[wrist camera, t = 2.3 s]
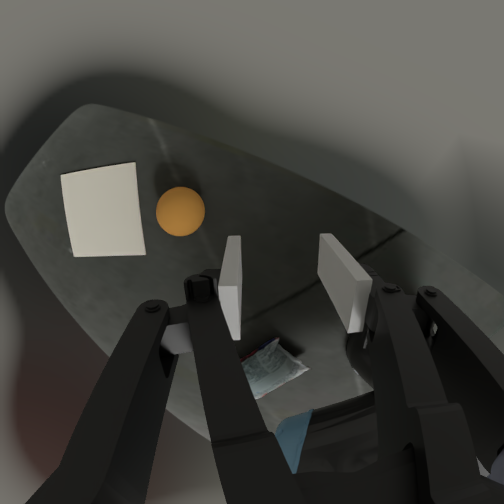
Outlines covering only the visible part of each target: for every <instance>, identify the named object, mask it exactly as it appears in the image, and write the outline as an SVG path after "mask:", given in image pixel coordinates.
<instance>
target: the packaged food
mask: <svg viewBox="0 0 504 504" xmlns="http://www.w3.org/2000/svg"><path fill="white" fill-rule="evenodd" d="M278 342H279V337H278V338H273V339H271V340H269V341H267V342H266V343H264V344H263V345H261V346H260V347H259V348H257V349H256V350H254V351H253V352H252V353H251V354H249V355H247V356H245V357H243V358H241V359H240V361H241V364H242V366H243V369H244V372H245V374H246V377H247V380H248V382H249V385H250V388H251V390H252V393H253V395H254V398H255V399H258V398H259V397H260V398H261V397H263V396H264V395H265V394H266V393H268V392H270V391H272V390H274V389H276V388H278V387H280V386H281V385H283V384H284V383H285V382H287V381H289V380H291V379H293V378H295V377H297V376H299V375H300V374H302V373H303V372H305V371H306V370H308V369H311V368H310V367H309V366H305V365H303V364H302V362H301V360H300V359H298V358H295V357H294V356H292V354H290V353H289V352H287V351H286V350H284V349H283V348H282V347H281V345H279V344H278Z"/></svg>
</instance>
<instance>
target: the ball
mask: <svg viewBox="0 0 504 504" xmlns="http://www.w3.org/2000/svg"><path fill="white" fill-rule="evenodd" d="M204 215H205V207H204V203H203V201H202V199H201V197H200V196H199V195H198V194H197V193H196V192H195V191H194V190H192V189H190V188H186V187H175V188H172V189H170V190H168V191H167V192H165V193H164V194H163V195H162V196H161V198H160V199H159V201H158V204H157V208H156V216H157V220H158V222H159V224H160V226H161V227H162V228H163V229H164V230H165V231H166V232H167V233H169V234H171V235H175V236H185V235H189V234H191V233H193V232H194V231H196V230H197V229H198V228H199V226H200V225H201V224H202V222H203V219H204Z"/></svg>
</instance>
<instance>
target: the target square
mask: <svg viewBox="0 0 504 504" xmlns="http://www.w3.org/2000/svg"><path fill="white" fill-rule="evenodd" d="M61 183H62V192H63V199H64V206H65V213H66V219H67V224H68V230H69V235H70V240H71V245H72V250H73V254H74V257H87V256H122V255H146V250H145V244H144V237H143V230H142V222H141V214H140V205H139V196H138V186H137V174H136V162H133V163H126V164H119V165H112V166H106V167H100V168H94V169H89V170H83V171H78V172H73V173H68V174H63V175H61Z"/></svg>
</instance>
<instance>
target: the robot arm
mask: <svg viewBox="0 0 504 504" xmlns="http://www.w3.org/2000/svg"><path fill="white" fill-rule="evenodd" d="M317 274H318V276H319V277H320V279H321V281H322V283H323V285H324V287H325V289H326V291H327V293H328V295H329V297H330V299H331V301H332V303H333V305H334V307H335V309H336V311H337V313H338V315H339V317H340V319H341V321H342V323H343V325H344V327H345V329H346V331H347V333H351V335H350V337H349V340H348V343H347V357H348V360H349V362H350V364H351V367H352V368H353V370H354V371H355V372H356V373H357V374H358V375H359V376H361V377H362V378H363V379H364V380H365V381H366V382H367V383H368V384H369V385H370V386H371V387H372V388H373V389H374V391H371V392H368V393H365V394H363V395H360V396H357V397H354V398H351V399H348V400H345V401H342V402H339V403H336V404H332V405H329V406H326V407H322V408H319V409H315V410H314V409H311V410H309V411H308V412H305V413H302V414H299V415H295V416H292V417H288V418H286V419H284V420H283V421H282V422H281V423H280V424H279V425H278V427H277V430H276V433H275V435H274V434H273V432H269V431H268V430H267V428H266V425H265V423H264V420H263V418H262V416H261V413H260V411H259V408H258V406H257V403H256V400H255V398H254V395H253V393H252V390H251V388H250V385H249V382H248V380H247V377H246V374H245V372H244V369H243V366H242V364H241V361H240V358H239V356H238V353H237V350H236V347H235V345H234V342H233V340H240V334H241V299H242V259H241V235H240V236H228V239H227V244H226V249H225V254H224V259H223V264H222V269H208V270H205V271H203V272H202V273H201V274H196V275H192V276H190V277H188V278H186V279H185V281H184V288H185V295H186V301H187V304H185V305H182V306H178V307H174V308H169V306H168V304H167V302H165V301H163V300H148V301H146V302H144V303H142V304H141V305H140V306H139V307H138V308H137V310H136V312H135V313H134V315H133V317H132V319H131V320H130V322H129V324H128V326H127V327H126V329H125V331H124V333H123V335H122V336H121V338H120V340H119V342H118V344H117V345H116V347H115V349H114V351H113V353H112V355H111V356H110V358H109V361H108V362H107V364H106V366H105V368H104V370H103V372H102V374H101V376H100V378H99V380H98V381H97V383H96V385H95V387H94V390H93V391H92V394H91V396H90V398H89V400H88V402H87V404H86V406H85V408H84V410H83V413H82V414H81V417H80V419H79V421H78V423H77V425H76V427H75V430H74V432H73V434H72V437H71V439H70V441H69V444H68V446H67V448H66V451H65V453H64V455H63V458H62V460H61V463H60V465H59V467H58V468H57V469H56V470H55V471H54V473H52V474H51V476H50V477H49V478H48V479H47V480H46V481H45V482H44V483H43V484H42V486H41V487H40V488H39V489H38V490H37V491H36V492H35V493H34V495H32V496H31V498H30V499H29V500H28V501H27V502H26V503H25V504H144V503H145V500H146V495H147V489H148V484H149V479H150V474H151V470H152V464H153V460H154V455H155V450H156V446H157V442H158V437H159V433H160V429H161V424H162V420H163V416H164V412H165V408H166V404H167V400H168V396H169V392H170V388H171V384H172V380H173V376H174V372H175V368H176V365H177V361H178V357H179V355H178V354H180V353H185V352H190V351H194V357H195V363H196V368H197V374H198V380H199V385H200V390H201V396H202V401H203V406H204V411H205V415H206V420H207V425H208V429H209V434H210V438H211V443H212V449H213V453H214V458H215V462H216V466H217V469H218V473H219V477H220V481H221V485H222V488H223V492H224V495H225V499H226V502H227V504H504V355H503V354H502V352H501V351H500V350H499V349H498V348H497V347H496V346H495V345H494V344H493V342H492V341H491V340H490V339H489V338H488V337H487V336H486V335H485V334H484V333H483V332H482V331H481V330H480V329H479V328H478V327H477V326H476V325H475V324H474V323H473V322H472V321H471V320H470V319H469V318H468V317H467V316H466V315H465V314H464V313H463V312H462V311H461V310H460V309H459V308H458V307H457V306H456V305H455V304H454V303H453V302H452V301H451V300H450V299H449V298H448V297H447V296H446V295H444V294H443V293H442V292H441V291H440V290H438V289H436V288H434V287H432V286H423V287H420V288H419V289H418V293H417V295H406V294H405V293H404V291H403V289H402V288H401V287H400V286H398V285H396V284H393V283H385V282H384V280H383V279H382V278H381V277H380V276H378V274H377V273H376V272H375V271H374V270H373V269H372V267H370V266H368V265H366V264H364V263H363V264H359V263H358V262H357V261H356V260H355V259H354V258H353V257H352V256H351V254H350V253H349V252H348V251H347V250H346V249H345V248H344V247H343V246H342V244H341V243H340V242H339V241H338V240H337V239H336V238H335V237H334V236H333V235H332V234H331V233H326V234H320V241H319V257H318V271H317ZM434 324H436V325H437V327H438V329H437V331H436V334H434V331H433V327H434ZM476 456H477V458H478V460H479V461H480V462H481V464H482V465H483V467H484V468H485V469H486V470H487V471H488V472H489V473H490V475H489V476H487V477H484V476H482V475H480V472H479V467H478V462H477V458H476Z"/></svg>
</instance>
